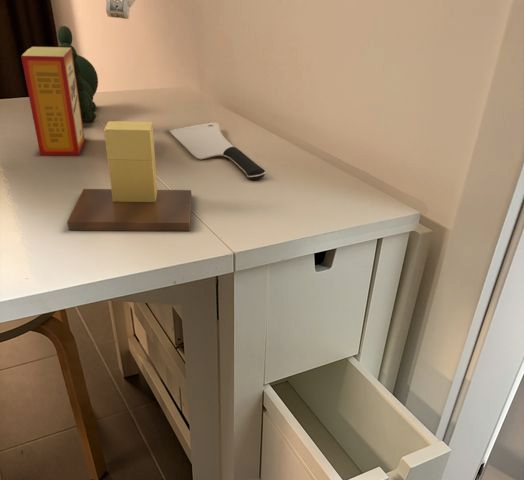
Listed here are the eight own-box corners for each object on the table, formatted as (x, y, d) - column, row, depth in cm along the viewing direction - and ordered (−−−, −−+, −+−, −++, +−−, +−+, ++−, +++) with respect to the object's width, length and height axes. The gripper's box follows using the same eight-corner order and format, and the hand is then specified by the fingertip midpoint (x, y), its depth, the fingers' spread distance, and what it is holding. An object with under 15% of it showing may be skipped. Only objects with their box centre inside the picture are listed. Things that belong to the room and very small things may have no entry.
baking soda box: (49, 139, 105) (31, 44, 95) (84, 139, 106) (71, 45, 96) (40, 155, 97) (20, 53, 88) (78, 155, 98) (63, 54, 89)
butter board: (68, 230, 74) (66, 221, 73) (84, 196, 83) (83, 188, 82) (189, 230, 75) (189, 222, 74) (191, 197, 85) (191, 190, 84)
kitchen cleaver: (168, 126, 112) (215, 117, 114) (170, 135, 113) (216, 126, 115) (216, 179, 89) (273, 166, 91) (217, 189, 90) (274, 176, 92)
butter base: (112, 201, 79) (107, 159, 75) (116, 191, 82) (111, 150, 79) (155, 202, 79) (152, 160, 76) (157, 192, 83) (154, 151, 79)
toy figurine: (104, 139, 112) (100, 98, 130) (90, 34, 99) (89, 4, 117) (55, 140, 110) (58, 98, 128) (35, 33, 97) (42, 3, 115)
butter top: (107, 159, 75) (103, 129, 73) (111, 150, 79) (108, 121, 76) (152, 160, 76) (149, 130, 73) (154, 151, 79) (152, 122, 77)
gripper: (198, -64, 81) (192, 35, 82) (54, -84, 79) (51, 18, 80) (197, -93, 75) (190, 14, 76) (41, -116, 73) (37, -5, 74)
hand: (117, 16), depth 78 cm, fingers closed
